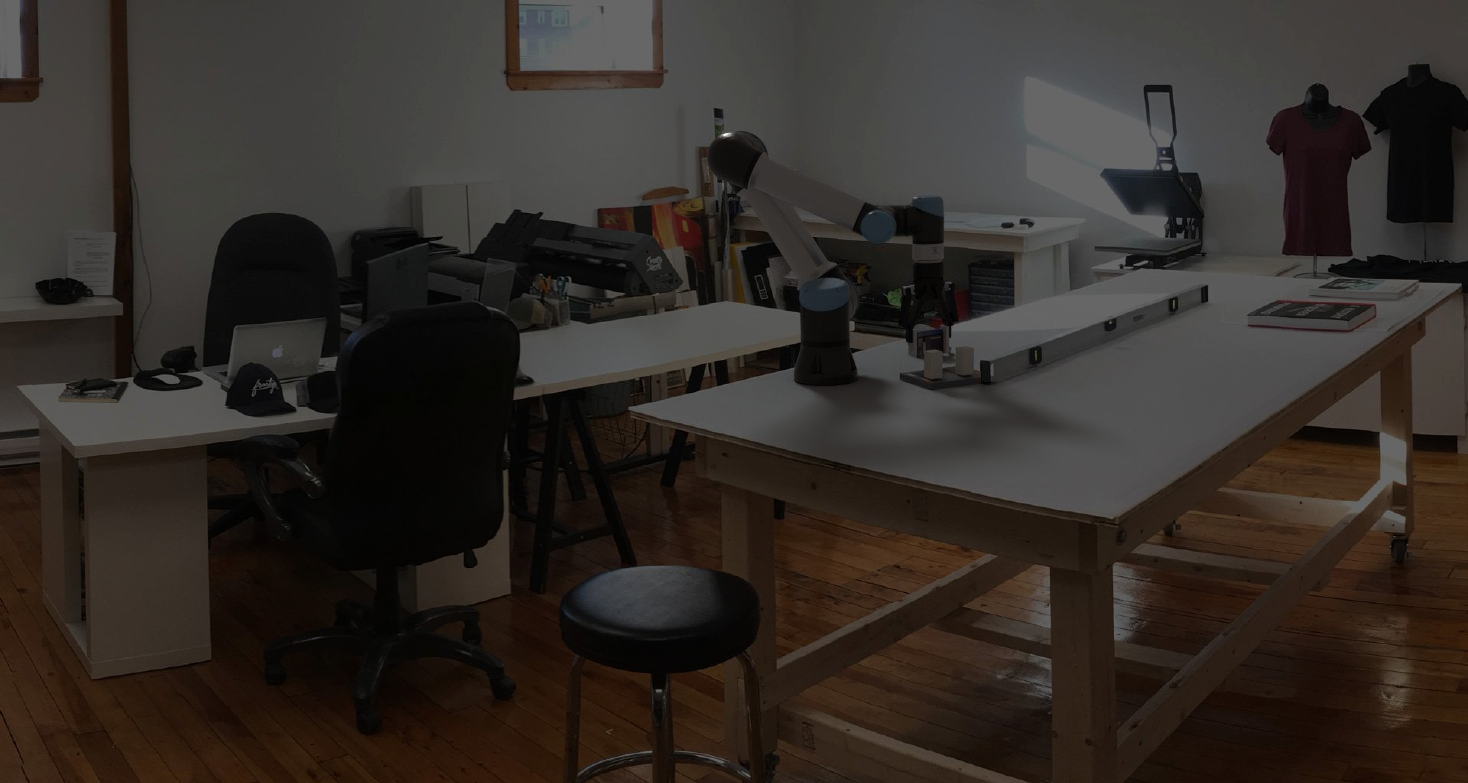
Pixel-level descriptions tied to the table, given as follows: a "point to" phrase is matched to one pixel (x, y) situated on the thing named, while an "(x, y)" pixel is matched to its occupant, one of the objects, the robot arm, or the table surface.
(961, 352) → the tab
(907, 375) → the grey base plate
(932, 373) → the cream upright block
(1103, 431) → the table surface
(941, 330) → the mini dv tape
